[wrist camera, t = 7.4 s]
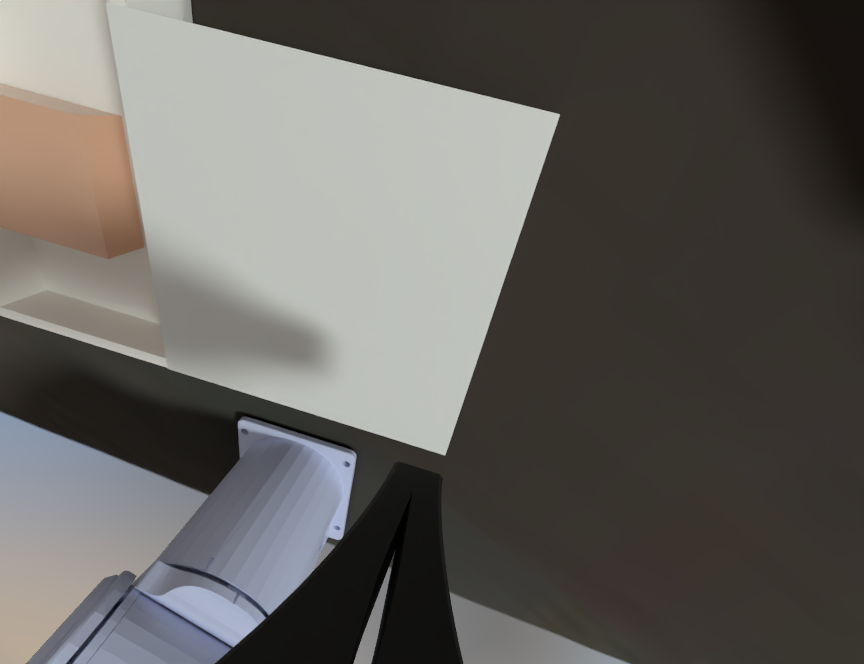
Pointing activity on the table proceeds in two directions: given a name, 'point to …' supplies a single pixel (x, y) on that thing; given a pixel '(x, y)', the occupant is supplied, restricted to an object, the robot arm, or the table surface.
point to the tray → (99, 88)
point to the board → (322, 221)
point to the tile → (66, 174)
